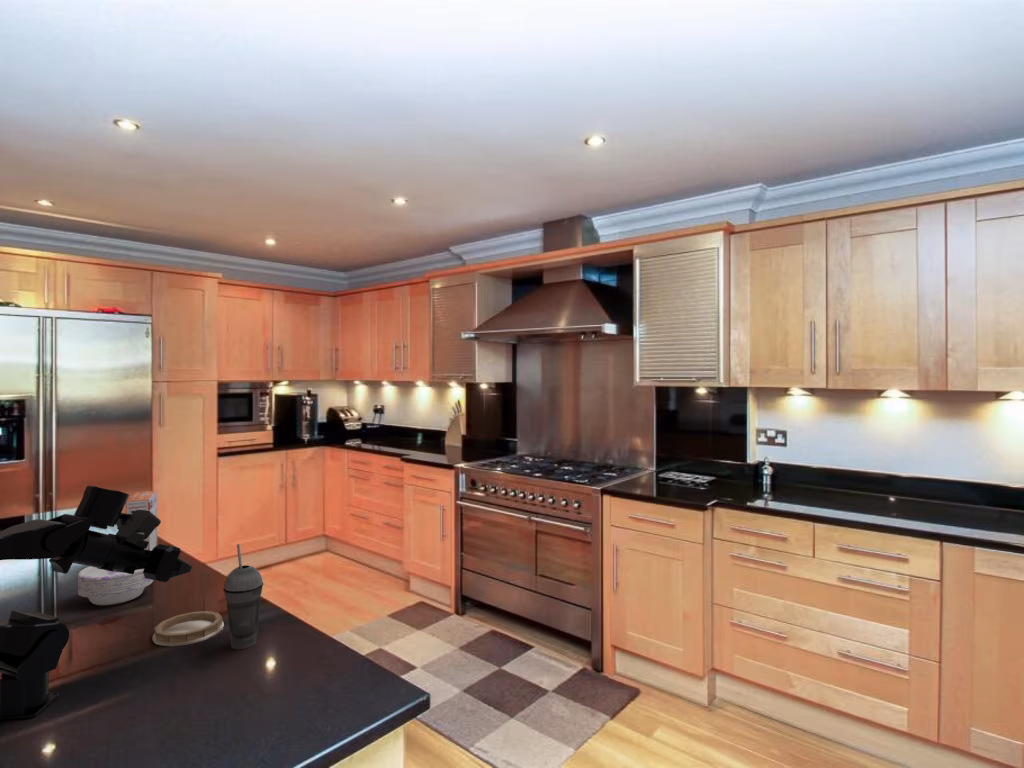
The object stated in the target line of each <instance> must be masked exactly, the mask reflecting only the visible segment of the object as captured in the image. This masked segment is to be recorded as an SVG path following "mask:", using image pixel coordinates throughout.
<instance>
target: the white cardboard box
mask: <svg viewBox="0 0 1024 768" xmlns="http://www.w3.org/2000/svg"><path fill="white" fill-rule="evenodd" d="M157 505H158V503H157V490H150V491H149V490H147V491H146V490H145V491H135V492H134V493H133V494H132V495H131V496H129V497H128V499H127V501H126V504H125V514H132V513H131V511H136V510H146V511H150V512H151V513H152V514H154V515H155V516H156V517H157V518H158V515H157V514H158V513H157V512H158V511H157V510H158V509H157V507H158V506H157ZM144 541H148V542H149V544H148V546H147V548H146V549H145V550H151V551H152V550H153V548H154V547H156V546H157V545H158V527H156V528H155V529H154V530H153V532H152V533H151V534H150V535H149V536H148V538H147V539H145V540H144Z"/></svg>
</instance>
